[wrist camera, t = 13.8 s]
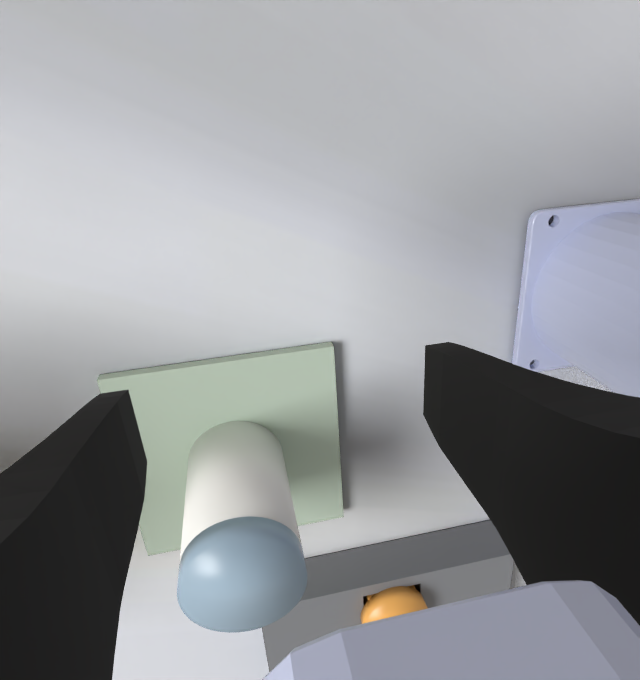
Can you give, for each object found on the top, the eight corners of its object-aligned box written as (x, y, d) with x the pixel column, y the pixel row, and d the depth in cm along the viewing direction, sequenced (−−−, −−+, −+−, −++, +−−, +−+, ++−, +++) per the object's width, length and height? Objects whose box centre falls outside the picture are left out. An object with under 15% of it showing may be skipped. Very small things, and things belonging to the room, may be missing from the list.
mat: (331, 341, 22) (333, 346, 21) (341, 510, 26) (343, 516, 26) (99, 374, 20) (96, 380, 20) (149, 547, 25) (148, 555, 24)
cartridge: (297, 435, 23) (328, 551, 17) (261, 505, 24) (277, 639, 18) (207, 409, 21) (204, 527, 15) (175, 486, 23) (159, 624, 16)
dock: (491, 519, 29) (515, 553, 26) (477, 649, 34) (495, 687, 31) (255, 569, 27) (258, 610, 24) (277, 700, 32) (281, 744, 29)
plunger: (410, 550, 28) (430, 592, 25) (410, 593, 29) (428, 638, 27) (349, 563, 27) (363, 608, 25) (352, 607, 29) (365, 653, 26)
